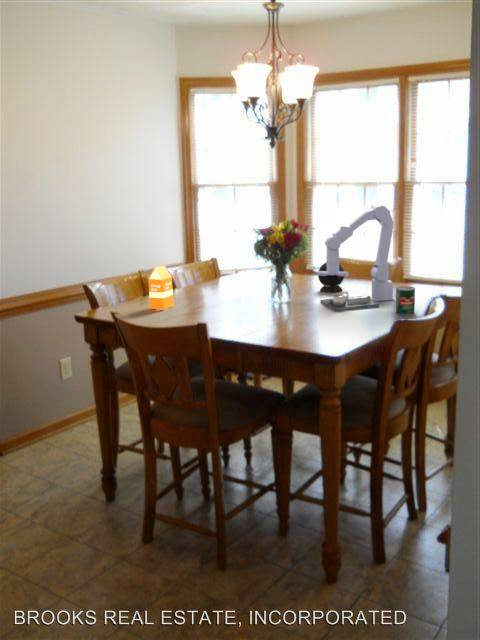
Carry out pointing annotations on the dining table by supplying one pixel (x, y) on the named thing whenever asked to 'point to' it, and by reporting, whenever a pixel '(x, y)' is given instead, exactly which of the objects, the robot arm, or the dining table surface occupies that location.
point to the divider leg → (346, 295)
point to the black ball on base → (324, 281)
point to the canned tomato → (405, 300)
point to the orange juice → (160, 288)
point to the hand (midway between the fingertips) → (332, 291)
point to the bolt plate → (348, 307)
